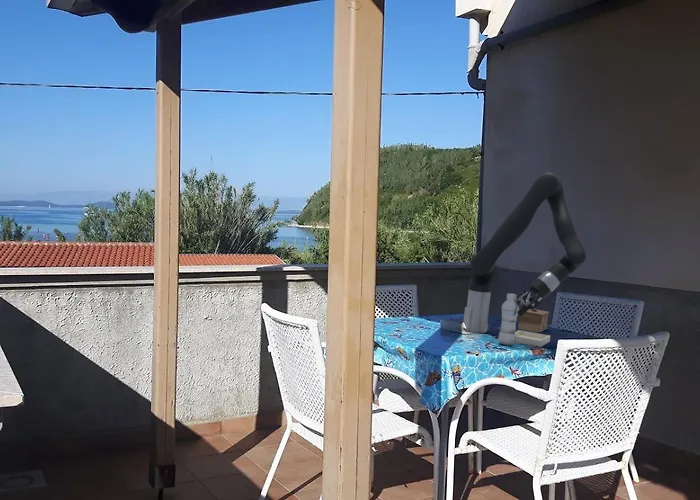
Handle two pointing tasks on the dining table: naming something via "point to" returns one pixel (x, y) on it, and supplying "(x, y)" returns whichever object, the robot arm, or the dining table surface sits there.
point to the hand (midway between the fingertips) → (514, 312)
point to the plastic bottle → (509, 320)
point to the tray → (531, 338)
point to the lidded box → (533, 320)
